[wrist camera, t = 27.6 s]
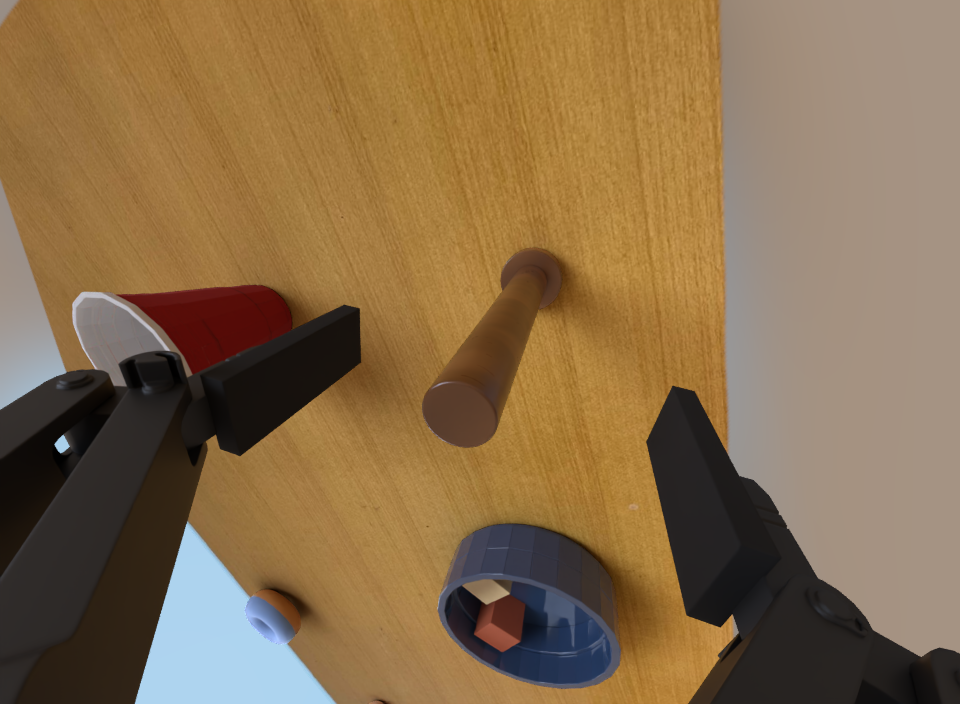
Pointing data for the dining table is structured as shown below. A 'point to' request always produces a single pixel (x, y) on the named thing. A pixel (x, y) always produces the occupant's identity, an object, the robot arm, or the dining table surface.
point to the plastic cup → (178, 325)
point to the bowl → (537, 606)
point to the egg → (376, 702)
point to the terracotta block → (501, 622)
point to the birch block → (489, 589)
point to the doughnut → (273, 616)
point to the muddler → (492, 353)
